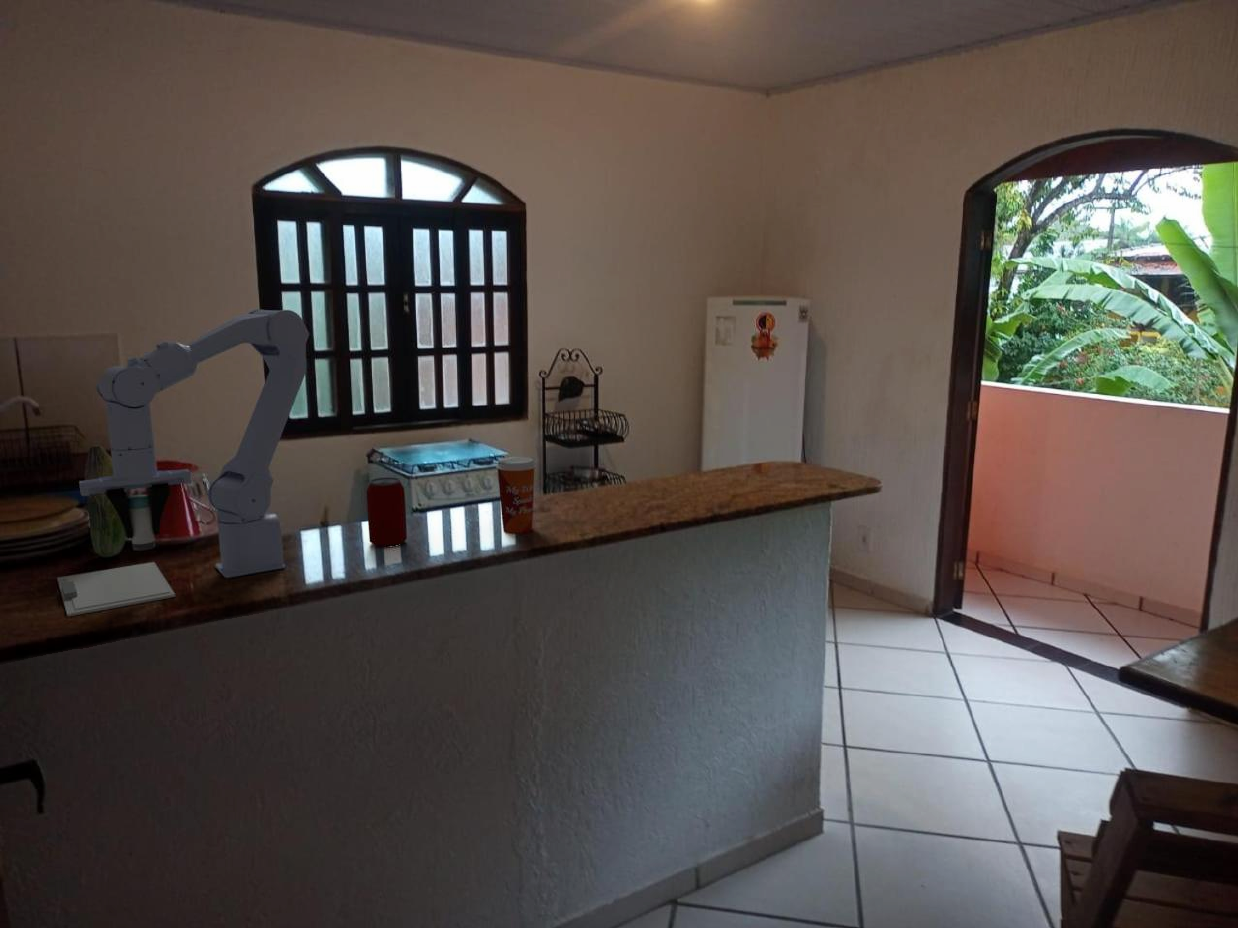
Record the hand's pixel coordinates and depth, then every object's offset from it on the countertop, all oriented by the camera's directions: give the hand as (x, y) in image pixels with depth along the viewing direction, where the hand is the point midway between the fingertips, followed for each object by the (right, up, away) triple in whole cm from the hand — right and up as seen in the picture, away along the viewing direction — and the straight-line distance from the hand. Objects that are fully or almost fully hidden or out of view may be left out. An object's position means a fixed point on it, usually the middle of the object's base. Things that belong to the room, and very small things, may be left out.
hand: (142, 534), depth 131 cm
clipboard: (-7, -9, +4) cm, 12 cm away
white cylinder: (0, -2, 0) cm, 2 cm away
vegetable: (-16, -6, +20) cm, 27 cm away
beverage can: (+30, -4, +28) cm, 41 cm away
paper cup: (+53, -2, +37) cm, 65 cm away
